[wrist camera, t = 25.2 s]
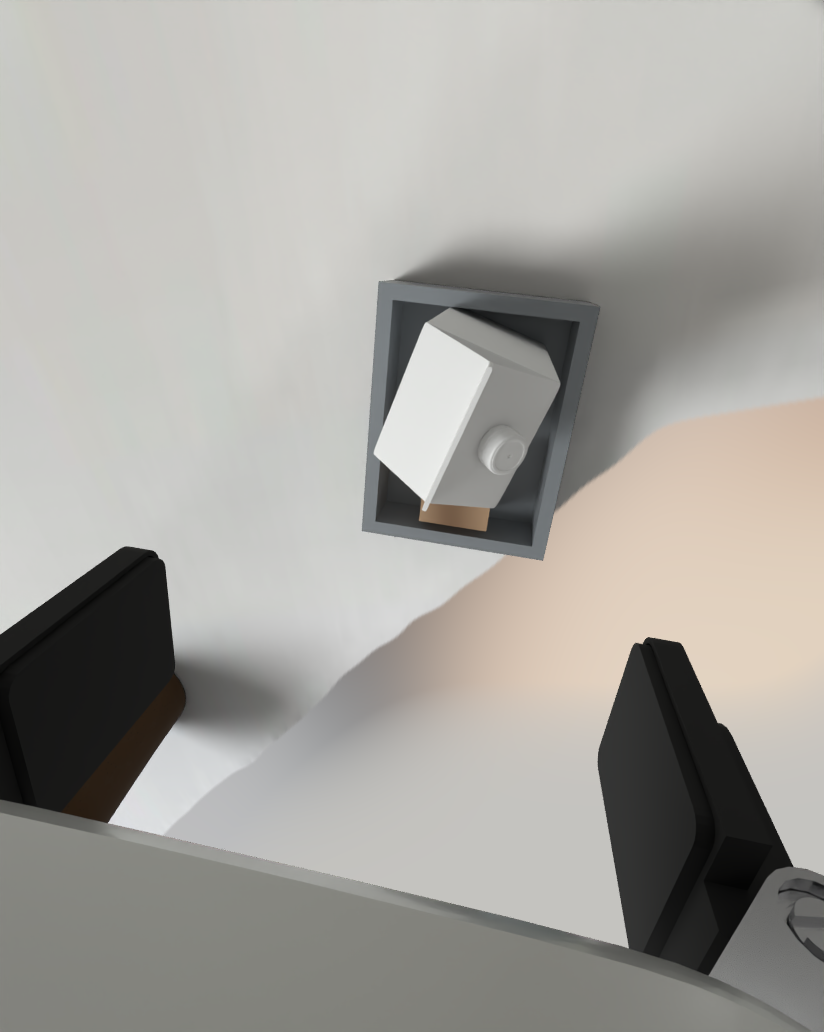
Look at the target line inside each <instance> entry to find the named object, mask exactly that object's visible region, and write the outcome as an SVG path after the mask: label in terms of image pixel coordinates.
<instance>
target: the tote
mask: <svg viewBox="0 0 824 1032" xmlns="http://www.w3.org/2000/svg"><path fill="white" fill-rule="evenodd" d="M450 307H458V308H465V309H467V310H469V311H471V312H473V313H475V314H478V315H480V316H482V317H484V318H486V319H489V320H491V321H493V322H495V323H497V324H500V325H502V326H504V327H506V328H508V329H511V330H513V331H515V332H517V333H519V334H522V335H524V336H526V337H528V338H530V339H533V340H535V341H537V342H539V343H541V344H544V345H545V347H546V350H547V352H548V354H549V357H550V359H551V362H552V364H553V366H554V369H555V371H556V373H557V376H558V378H559V381H560V388H559V390H558V392H557V394H556V396H555V398H554V400H553V402H552V404H551V406H550V407H549V409H548V411H547V413H546V415H545V417H544V419H543V421H542V423H541V424H540V426H539V428H538V430H537V432H536V434H535V436H534V438H533V439H532V441H531V443H530V445H529V447H528V451H527V454H526V456H525V458H524V460H523V462H522V463H521V464H520V466H519V467H518V468H517V469H516V471H515V473H514V475H513V477H512V479H511V481H510V483H509V484H508V486H507V488H506V490H505V492H504V494H503V495H502V497H501V499H500V501H499V502H498V504H497V506H496V507H495V508H490V511H489V517H488V523H487V529H486V531H480V530H473V529H467V528H461V527H454V526H448V525H442V524H435V523H429V522H423V521H419V516H420V507H421V498H420V497H419V496H418V495H417V494H416V493H415V492H414V491H413V490H412V489H411V488H410V487H409V486H407V485H406V484H405V483H404V482H403V481H402V480H401V479H400V478H399V477H398V476H397V475H396V474H395V473H393V472H392V471H391V470H390V469H389V468H388V467H387V466H386V465H385V464H384V463H383V462H382V461H381V460H379V459H378V458H377V457H376V456H375V455H374V450H375V447H376V444H377V441H378V439H379V436H380V434H381V431H382V429H383V426H384V424H385V421H386V419H387V416H388V414H389V411H390V409H391V406H392V404H393V401H394V399H395V396H396V394H397V391H398V389H399V386H400V383H401V381H402V378H403V376H404V373H405V371H406V368H407V366H408V363H409V361H410V358H411V356H412V353H413V351H414V348H415V346H416V343H417V341H418V338H419V336H420V333H421V331H422V329H423V326H424V324H425V323H426V322H428V321H430V320H431V319H433V318H434V317H436V316H437V315H439V314H441V313H442V312H444V311H445V310H447V309H448V308H450ZM599 310H600V306H597V305H595V304H593V303H591V302H583V301H574V300H565V299H557V298H548V297H539V296H530V295H521V294H512V293H504V292H495V291H486V290H477V289H468V288H459V287H451V286H442V285H433V284H424V283H415V282H406V281H397V280H389V281H379V285H378V300H377V315H376V329H375V344H374V359H373V374H372V389H371V403H370V418H369V433H368V448H367V463H366V478H365V492H364V507H363V522H362V531H365V532H371V533H377V534H383V535H389V536H395V537H402V538H408V539H414V540H420V541H426V542H432V543H438V544H444V545H451V546H457V547H463V548H469V549H475V550H481V551H487V552H493V553H500V554H506V555H512V556H518V557H524V558H530V559H536V560H542V561H543V558H544V554H545V550H546V545H547V541H548V536H549V532H550V527H551V523H552V519H553V514H554V510H555V505H556V501H557V496H558V492H559V488H560V483H561V479H562V474H563V470H564V465H565V461H566V456H567V452H568V448H569V443H570V439H571V434H572V430H573V425H574V421H575V417H576V412H577V408H578V403H579V399H580V394H581V390H582V386H583V381H584V377H585V372H586V368H587V363H588V359H589V354H590V350H591V346H592V341H593V337H594V332H595V328H596V323H597V319H598V315H599Z"/></svg>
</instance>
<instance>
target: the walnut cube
mask: <svg viewBox="0 0 824 1032" xmlns="http://www.w3.org/2000/svg"><path fill="white" fill-rule="evenodd" d="M424 502H425V501H424V500H423V499H422V498H421V507H420V516H419V521H423V522H429V523H435V524H442V525H448V526H454V527H461V528H467V529H473V530H480V531H486V529H487V523H488V517H489V511H490V508H482V507H469V506H456V505H444V504H431V503H430V504H429V506H428V508H427V510H426V511H423V510H422V508H423V505H424Z"/></svg>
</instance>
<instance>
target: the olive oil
mask: <svg viewBox="0 0 824 1032" xmlns="http://www.w3.org/2000/svg"><path fill="white" fill-rule="evenodd" d="M185 702H186V698H185V692H184V689H183V687H182V685H181V683H180V681H179V680H178V678H177V677H176V676H175V675H174V673H173V676H172V678H171V680H170V681H169V683H168V684H167V685H166V686H165V687H164V689H163V690H162V691H161V692H160V693H159V695H158V696H157V697H156V698H155V699H154V701H153V702H152V703H151V704H150V705H149V707H148V708H147V709H146V710H145V712H144V713H143V714H142V715H141V716H140V718H139V719H138V720H137V721H136V722H135V724H134V725H133V726H132V727H131V728H130V730H129V731H128V732H127V733H126V734H125V736H124V737H123V738H122V739H121V740H120V742H119V743H118V744H117V745H116V746H115V748H114V749H113V750H112V751H111V752H110V754H109V755H108V756H107V757H106V759H105V760H104V761H103V762H102V763H101V765H100V766H99V767H98V768H97V769H96V771H95V772H94V773H93V774H92V775H91V777H90V778H89V779H88V780H87V781H86V783H85V784H84V785H83V786H82V787H81V789H80V790H79V791H78V792H77V793H76V795H75V796H74V797H73V798H72V800H71V801H70V802H69V803H68V804H67V806H66V807H65V808H64V809H63V810H62V812H61V813H64V814H69V815H73V816H78V817H82V818H86V819H91V820H95V821H100V822H104V823H108V822H109V820H110V819H111V817H112V816H113V814H114V813H115V811H116V810H117V808H118V807H119V805H120V803H121V802H122V800H123V799H124V797H125V796H126V794H127V793H128V791H129V790H130V788H131V787H132V785H133V784H134V782H135V781H136V779H137V778H138V776H139V775H140V773H141V772H142V770H143V769H144V767H145V766H146V764H147V763H148V761H149V760H150V758H151V757H152V755H153V754H154V752H155V751H156V749H157V748H158V746H159V745H160V744H161V742H162V741H163V739H164V738H165V736H166V735H167V734H168V732H169V731H170V729H171V728H172V726H173V725H174V723H175V722H176V721H177V719H178V718H179V716H180V715H181V713H182V712H183V709H184V707H185Z"/></svg>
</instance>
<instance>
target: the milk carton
mask: <svg viewBox="0 0 824 1032" xmlns="http://www.w3.org/2000/svg"><path fill="white" fill-rule="evenodd" d="M559 388H560V381H559V378H558V376H557V373H556V371H555V369H554V366H553V364H552V362H551V359H550V357H549V354H548V352H547V350H546V347H545V345H544V344H541V343H539V342H537V341H535V340H533V339H530V338H528V337H526V336H524V335H522V334H519V333H517V332H515V331H513V330H511V329H508V328H506V327H504V326H502V325H500V324H497V323H495V322H493V321H491V320H489V319H486V318H484V317H482V316H480V315H478V314H475V313H473V312H471V311H469V310H467V309H465V308H458V307H450V308H448V309H447V310H445V311H444V312H442V313H441V314H439V315H437V316H436V317H434V318H433V319H431V320H430V321H428V322H426V323H425V324H424V326H423V329H422V331H421V333H420V336H419V338H418V341H417V343H416V346H415V348H414V351H413V353H412V356H411V358H410V361H409V363H408V366H407V368H406V371H405V373H404V376H403V378H402V381H401V383H400V386H399V389H398V391H397V394H396V396H395V399H394V401H393V404H392V406H391V409H390V411H389V414H388V416H387V419H386V421H385V424H384V426H383V429H382V431H381V434H380V436H379V439H378V441H377V444H376V447H375V450H374V455H375V456H376V457H377V458H378V459H379V460H381V461H382V462H383V463H384V464H385V465H386V466H387V467H388V468H389V469H390V470H391V471H392V472H393V473H395V474H396V475H397V476H398V477H399V478H400V479H401V480H402V481H403V482H404V483H405V484H406V485H407V486H409V487H410V488H411V489H412V490H413V491H414V492H415V493H416V494H417V495H418V496H419V497H420V498H422V499H423V500H424V501H425V502H424V505H423V508H422V510H423V511H426V510H427V508H428V506H429V504H430V503H431V504H444V505H456V506H469V507H482V508H495V507H496V506H497V504H498V502H499V501H500V499H501V497H502V495H503V494H504V492H505V490H506V488H507V486H508V484H509V483H510V481H511V479H512V477H513V475H514V473H515V471H516V469H517V468H518V467H519V466H520V464H521V463H522V462H523V460H524V458H525V456H526V454H527V451H528V447H529V445H530V443H531V441H532V439H533V438H534V436H535V434H536V432H537V430H538V428H539V426H540V424H541V423H542V421H543V419H544V417H545V415H546V413H547V411H548V409H549V407H550V406H551V404H552V402H553V400H554V398H555V396H556V394H557V392H558V390H559Z"/></svg>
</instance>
